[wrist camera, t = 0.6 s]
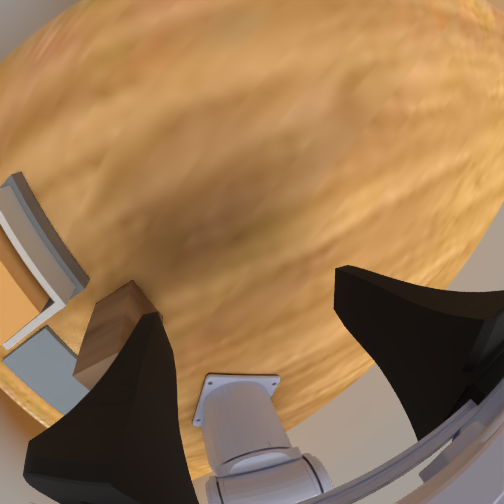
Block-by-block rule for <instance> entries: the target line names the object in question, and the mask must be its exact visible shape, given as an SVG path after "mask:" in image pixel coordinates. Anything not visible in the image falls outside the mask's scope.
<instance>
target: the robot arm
mask: <svg viewBox="0 0 504 504" xmlns="http://www.w3.org/2000/svg"><path fill="white" fill-rule="evenodd" d="M334 310H335V312H336V313H337V315H338V317H339V318H340V320H341V321H342V323H343V324H344V326H345V327H346V328H347V330H348V331H349V332H350V333H351V334H352V335H353V337H354V338H355V339H356V340H357V341H358V342H359V343H360V345H361V346H362V347H363V348H364V349H365V350H366V352H367V353H368V354H369V355H370V356H371V357H372V358H373V360H374V361H375V362H376V363H377V365H378V366H379V367H380V369H381V370H382V372H383V373H384V375H385V376H386V378H387V380H388V381H389V383H390V384H391V386H392V388H393V389H394V391H395V392H396V394H397V396H398V398H399V400H400V401H401V404H402V406H403V408H404V410H405V412H406V414H407V416H408V418H409V420H410V422H411V425H412V427H413V429H414V432H415V434H416V437H417V440H418V442H417V443H416V444H414V445H413V446H411V447H410V448H408V449H407V450H405V451H404V452H402V453H401V454H399V455H397V456H396V457H394V458H392V459H391V460H389V461H388V462H386V463H384V464H382V465H381V466H379V467H377V468H375V469H373V470H372V471H370V472H368V473H366V474H364V475H362V476H360V477H358V478H356V479H354V480H352V481H350V482H348V483H346V484H343V485H341V486H339V487H337V488H335V489H333V485H332V482H331V479H330V476H329V474H328V472H327V470H326V469H325V467H324V465H323V464H322V462H321V461H320V460H319V459H318V458H316V457H315V456H312V455H311V454H309V453H305V454H301V452H300V450H299V448H298V447H294V448H293V447H292V445H291V443H290V441H289V439H288V437H287V434H286V432H285V430H284V427H283V425H282V423H281V421H280V418H279V416H278V414H277V412H276V409H275V407H274V405H273V402H272V400H271V396H272V395H273V393H274V391H275V389H276V387H277V385H278V384H279V382H280V377H279V376H243V375H217V374H210V375H207V376H206V379H205V382H204V385H203V389H202V392H201V395H200V399H199V402H198V405H197V409H196V412H195V415H194V419H193V422H192V423H193V426H196V427H201V428H202V433H203V438H204V443H205V448H206V452H207V457H208V461H209V464H210V467H211V469H212V470H213V471H214V473H215V474H216V475H217V477H216V476H210V477H209V480H208V481H207V482H206V484H205V487H206V494H207V498H208V503H209V504H352V503H354V502H356V501H358V500H361V499H362V498H364V497H366V496H368V495H370V494H372V493H374V492H376V491H377V490H379V489H381V488H383V487H384V486H386V485H388V484H390V483H391V482H393V481H394V480H396V479H398V478H399V477H401V476H402V475H404V474H405V473H407V472H409V471H410V470H411V469H413V468H414V467H416V466H417V465H419V464H420V463H421V462H423V461H424V460H425V459H427V458H428V457H430V456H431V455H432V454H433V453H435V452H436V451H437V450H439V449H440V448H441V447H442V446H443V445H445V444H446V443H447V442H448V441H450V440H451V439H452V438H453V439H452V443H451V444H450V445H449V446H447V447H446V448H445V449H444V450H443V451H442V452H441V453H440V454H439V455H438V456H437V457H436V459H434V460H433V461H432V462H431V463H430V464H429V465H428V466H427V467H426V468H424V469H423V470H422V471H421V472H420V473H419V476H420V477H421V479H422V480H423V482H424V484H423V485H421V486H420V487H418V488H417V489H416V490H414V491H413V492H412V493H410V494H408V495H407V496H405V497H404V498H402V499H401V500H399V501H397V502H396V503H395V504H504V290H502V291H491V292H458V291H447V290H440V289H434V288H429V287H423V286H419V285H415V284H411V283H407V282H404V281H400V280H397V279H393V278H390V277H387V276H384V275H381V274H378V273H375V272H371V271H368V270H365V269H362V268H358V267H354V266H350V265H346V266H342V267H339V268H335V291H334ZM23 477H24V478H25V480H26V482H28V484H29V485H31V486H32V487H33V488H35V489H36V490H38V491H39V492H41V493H43V494H44V495H46V496H48V497H50V498H51V499H53V500H55V501H57V502H58V503H60V504H199V502H198V500H197V497H196V494H195V490H194V487H193V484H192V481H191V477H190V474H189V470H188V466H187V462H186V458H185V454H184V450H183V445H182V440H181V435H180V430H179V421H178V404H177V380H176V368H175V361H174V355H173V350H172V348H171V345H170V343H169V340H168V337H167V335H166V332H165V330H164V327H163V324H162V322H161V319H160V316H159V313H158V311H157V312H152V313H147V314H143V315H142V316H141V318H140V320H139V321H138V323H137V324H136V326H135V328H134V330H133V331H132V333H131V335H130V336H129V338H128V340H127V341H126V343H125V344H124V346H123V348H122V349H121V351H120V352H119V354H118V355H117V357H116V358H115V360H114V361H113V363H112V364H111V365H110V367H109V368H108V370H107V371H106V372H105V374H104V375H103V376H102V377H101V379H100V380H99V381H98V382H97V383H96V385H95V386H94V387H93V388H92V389H91V390H90V391H89V392H88V393H87V394H86V395H85V396H84V398H83V399H82V400H81V401H80V402H79V403H78V404H77V405H76V406H75V407H74V408H73V409H71V410H70V411H69V412H68V413H67V414H66V415H65V416H63V417H62V418H61V419H60V420H59V421H57V422H56V423H55V424H53V425H52V426H51V427H49V428H48V429H47V430H45V431H44V432H42V433H41V434H39V435H38V436H36V437H35V438H33V439H32V440H30V441H29V443H28V449H27V453H26V459H25V465H24V471H23ZM29 504H34V503H29Z"/></svg>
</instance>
